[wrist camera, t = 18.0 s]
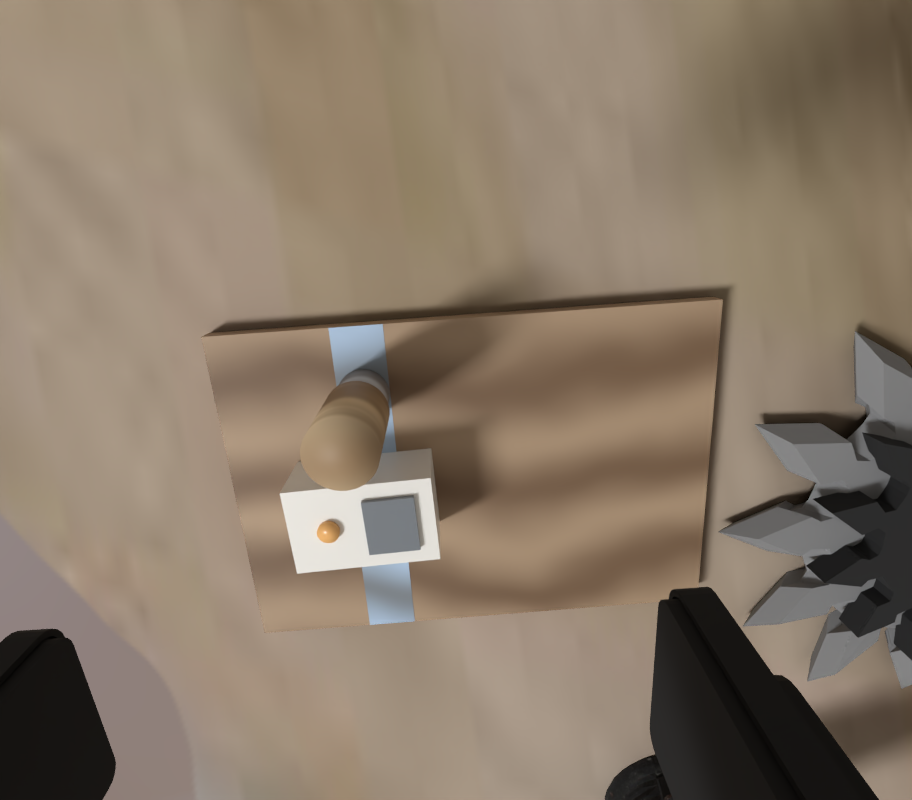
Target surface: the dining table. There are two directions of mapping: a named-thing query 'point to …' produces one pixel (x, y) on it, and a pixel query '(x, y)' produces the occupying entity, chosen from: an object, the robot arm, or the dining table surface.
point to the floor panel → (490, 455)
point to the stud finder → (365, 516)
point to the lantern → (640, 782)
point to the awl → (348, 432)
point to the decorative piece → (847, 522)
